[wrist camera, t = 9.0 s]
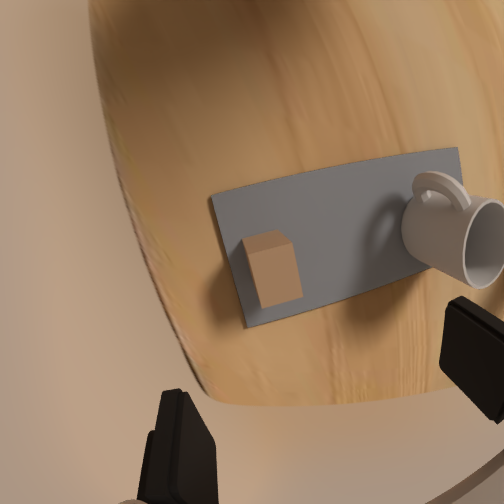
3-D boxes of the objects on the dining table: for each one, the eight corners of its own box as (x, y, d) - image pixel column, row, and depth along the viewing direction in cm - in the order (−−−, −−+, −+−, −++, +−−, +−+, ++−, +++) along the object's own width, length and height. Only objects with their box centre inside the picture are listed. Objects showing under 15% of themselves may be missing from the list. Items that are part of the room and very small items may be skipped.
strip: (210, 195, 23) (208, 200, 18) (455, 147, 24) (490, 146, 19) (247, 325, 26) (254, 358, 21) (464, 251, 28) (496, 264, 22)
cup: (416, 273, 27) (474, 306, 18) (372, 194, 24) (436, 205, 16) (457, 230, 26) (517, 249, 18) (420, 151, 24) (486, 149, 15)
